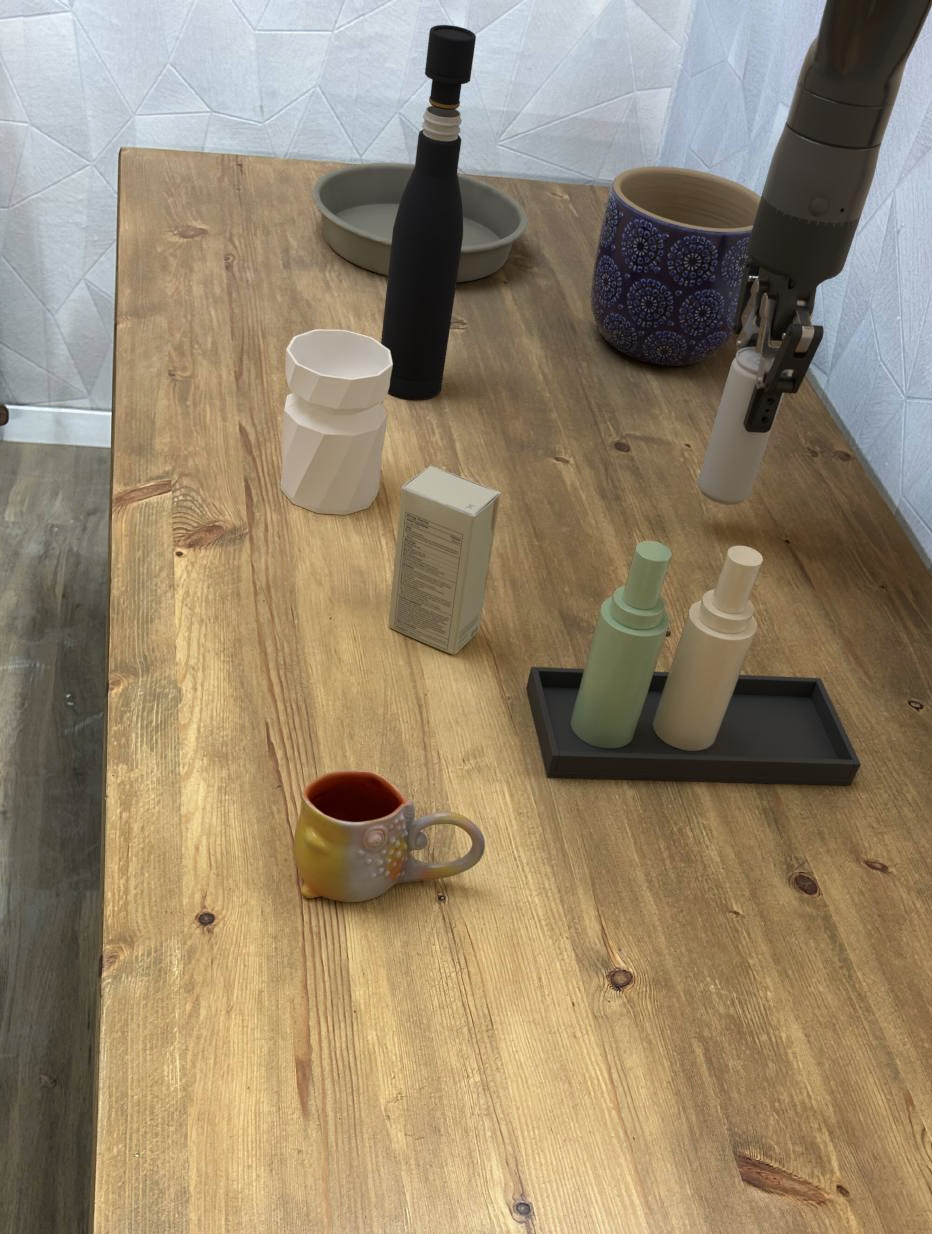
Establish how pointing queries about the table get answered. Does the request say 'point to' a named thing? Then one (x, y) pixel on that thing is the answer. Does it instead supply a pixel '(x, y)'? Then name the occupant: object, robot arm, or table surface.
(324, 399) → the vase
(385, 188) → the cake pan
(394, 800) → the mug
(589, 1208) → the table surface
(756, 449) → the beverage can
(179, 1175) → the table surface
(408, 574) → the cosmetic box
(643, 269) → the planter
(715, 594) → the cream bottle
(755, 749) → the tray
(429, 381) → the black bottle
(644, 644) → the sage bottle
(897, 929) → the table surface
